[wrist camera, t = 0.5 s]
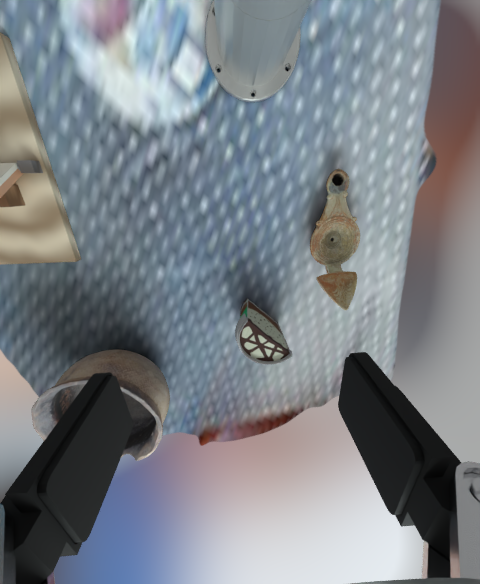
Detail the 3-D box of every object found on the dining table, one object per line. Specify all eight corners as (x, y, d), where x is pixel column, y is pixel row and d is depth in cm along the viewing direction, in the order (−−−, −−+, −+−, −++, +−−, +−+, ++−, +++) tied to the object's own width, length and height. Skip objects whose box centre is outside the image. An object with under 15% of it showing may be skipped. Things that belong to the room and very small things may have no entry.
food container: (222, 313, 49) (220, 342, 40) (242, 293, 48) (245, 319, 38) (263, 344, 53) (270, 377, 44) (282, 327, 51) (294, 357, 42)
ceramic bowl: (96, 404, 59) (56, 471, 45) (66, 333, 50) (4, 390, 36) (184, 399, 59) (170, 463, 46) (169, 327, 50) (147, 381, 37)
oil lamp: (303, 288, 48) (320, 312, 39) (306, 172, 39) (329, 168, 30) (345, 284, 48) (372, 307, 39) (358, 166, 39) (397, 161, 30)
